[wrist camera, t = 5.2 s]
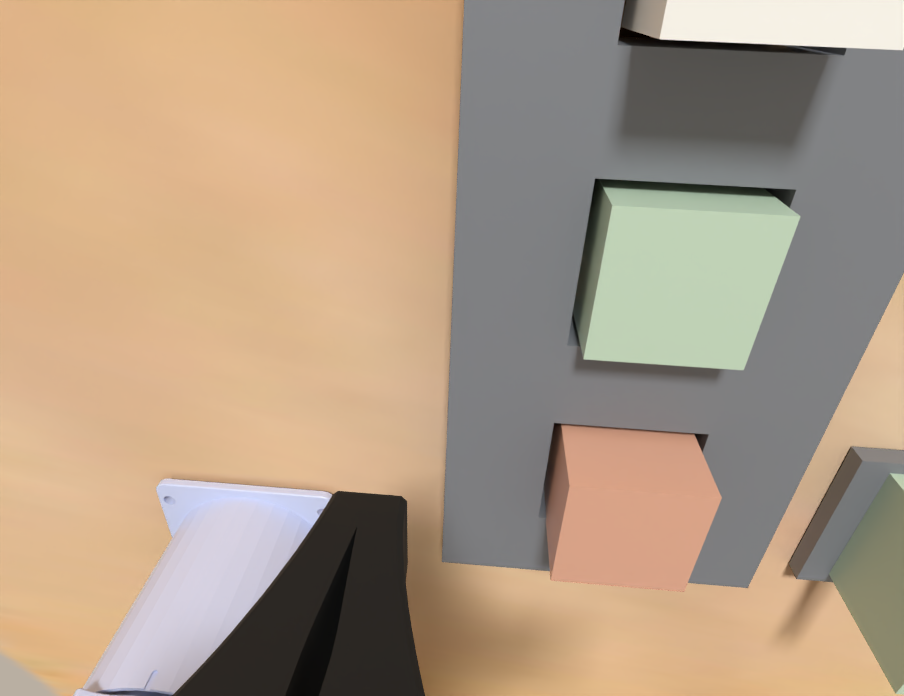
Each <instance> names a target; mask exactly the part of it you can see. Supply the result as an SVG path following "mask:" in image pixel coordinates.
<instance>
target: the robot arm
mask: <svg viewBox="0 0 904 696" xmlns="http://www.w3.org/2000/svg"><path fill="white" fill-rule="evenodd" d="M156 491H157V494H158V497H159V500H160V503H161V506H162V509H163V512H164V515H165V518H166V521H167V524H168V527H169V530H170V533H171V536H172V540H171V541H170V543H169V545H168V546H167V548H166V550H165V551H164V553H163V555H162V556H161V558H160V560H159V561H158V563H157V565H156V566H155V568H154V570H153V571H152V573H151V575H150V576H149V578H148V580H147V581H146V583H145V585H144V586H143V588H142V590H141V591H140V593H139V595H138V596H137V598H136V600H135V601H134V603H133V605H132V606H131V608H130V610H129V611H128V613H127V615H126V616H125V618H124V620H123V621H122V623H121V625H120V627H119V628H118V630H117V632H116V633H115V635H114V637H113V638H112V640H111V642H110V643H109V645H108V647H107V648H106V650H105V652H104V653H103V655H102V657H101V658H100V660H99V662H98V663H97V665H96V667H95V668H94V670H93V672H92V673H91V675H90V677H89V678H88V680H87V682H86V683H85V685H84V687H83V688H79V689H77V690H76V691H75V693H74V695H73V696H425V693H424V689H423V685H422V680H421V675H420V671H419V666H418V661H417V656H416V650H415V645H414V639H413V634H412V628H411V621H410V615H409V608H408V600H407V591H406V573H407V563H408V558H407V501H406V500H405V499H404V498H403V497H402V496H393V495H380V494H368V493H355V492H343V491H337V492H336V493H335V494H333V495H332V494H330V493H328V492H325V491H315V490H303V489H290V488H278V487H266V486H253V485H241V484H228V483H216V482H203V481H191V480H179V479H163V480H161V481H160V483H159V484H158V486H157V487H156ZM323 509H324V510H323Z"/></svg>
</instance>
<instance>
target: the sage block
mask: <svg viewBox="0 0 904 696" xmlns="http://www.w3.org/2000/svg"><path fill="white" fill-rule="evenodd" d="M800 217H801V216H799V215H798V214H797V213H795V212H794V211H793V210H792V209H790V208H789V207H788V206H786V205H785V204H784V203H782V202H781V201H780V200H778V199H777V198H776V197H775V196H773V195H772V194H771V193H769V192H768V191H767V190H765V189H764V188H758V187H740V186H722V185H704V184H686V183H668V182H650V181H632V180H614V179H596V178H595V182H594V188H593V194H592V200H591V206H590V212H589V218H588V223H587V229H586V235H585V241H584V247H583V253H582V259H581V265H580V271H579V277H578V283H577V289H576V295H575V301H574V307H573V314H574V319H575V323H576V328H577V332H578V337H579V341H580V346H581V350H582V355H583V359H586V360H600V361H615V362H629V363H644V364H658V365H673V366H687V367H702V368H716V369H731V370H744V368H745V365H746V363H747V360H748V357H749V355H750V352H751V349H752V346H753V344H754V341H755V338H756V336H757V333H758V330H759V328H760V325H761V322H762V319H763V317H764V314H765V311H766V309H767V306H768V303H769V301H770V298H771V295H772V292H773V290H774V287H775V284H776V282H777V279H778V276H779V274H780V271H781V268H782V265H783V263H784V260H785V257H786V255H787V252H788V249H789V247H790V244H791V241H792V238H793V236H794V233H795V230H796V228H797V225H798V222H799V220H800Z"/></svg>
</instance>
